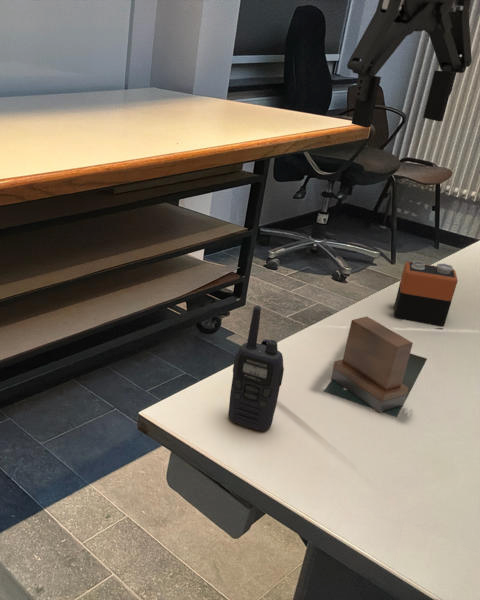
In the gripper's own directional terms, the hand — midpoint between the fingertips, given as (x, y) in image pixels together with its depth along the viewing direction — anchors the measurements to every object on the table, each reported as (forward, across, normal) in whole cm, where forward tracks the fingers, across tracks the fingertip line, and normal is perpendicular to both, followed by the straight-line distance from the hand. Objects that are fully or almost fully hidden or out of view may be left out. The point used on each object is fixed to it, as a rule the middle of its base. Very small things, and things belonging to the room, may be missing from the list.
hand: (397, 122), depth 94 cm
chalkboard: (+29, +14, +18) cm, 36 cm away
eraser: (+28, +18, +20) cm, 39 cm away
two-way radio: (+29, +34, +18) cm, 48 cm away
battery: (+29, -4, +8) cm, 30 cm away
